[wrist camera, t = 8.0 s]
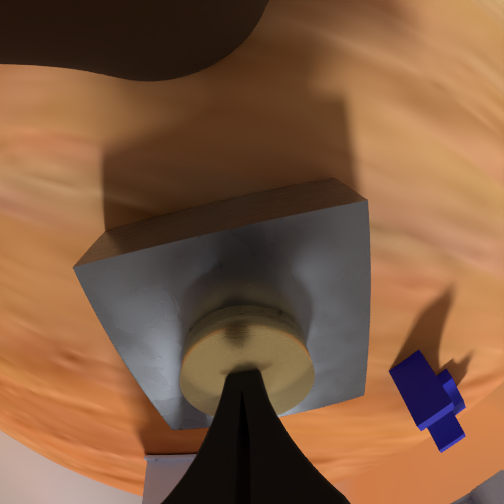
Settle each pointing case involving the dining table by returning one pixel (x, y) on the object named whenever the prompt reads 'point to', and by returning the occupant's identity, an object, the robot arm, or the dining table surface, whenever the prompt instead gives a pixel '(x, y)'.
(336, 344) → the block
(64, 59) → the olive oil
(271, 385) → the brass pin
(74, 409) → the dining table surface
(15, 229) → the dining table surface
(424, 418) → the blue angular block
